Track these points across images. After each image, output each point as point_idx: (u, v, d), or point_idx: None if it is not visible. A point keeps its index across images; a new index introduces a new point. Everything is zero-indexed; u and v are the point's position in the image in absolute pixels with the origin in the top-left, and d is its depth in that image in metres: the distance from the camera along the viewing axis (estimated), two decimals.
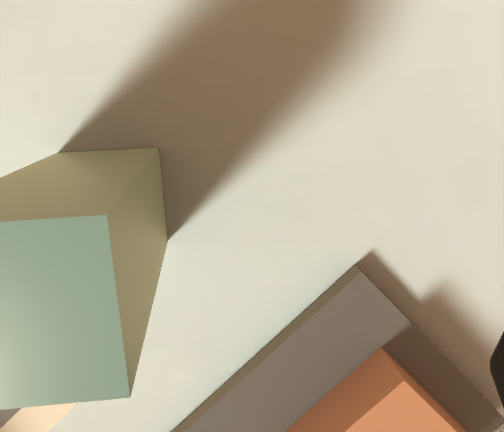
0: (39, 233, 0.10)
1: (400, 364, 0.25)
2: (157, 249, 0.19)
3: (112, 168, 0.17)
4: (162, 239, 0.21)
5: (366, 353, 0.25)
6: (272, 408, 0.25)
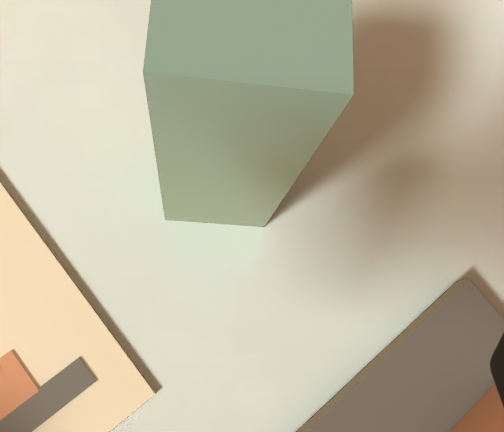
0: None
1: None
2: None
3: None
4: None
5: (484, 384, 0.21)
6: None
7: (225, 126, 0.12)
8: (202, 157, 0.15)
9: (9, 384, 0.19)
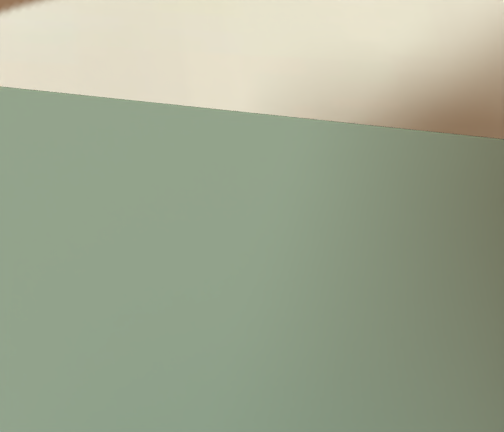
0: None
1: None
2: None
3: None
4: None
5: None
6: None
7: None
8: None
9: None
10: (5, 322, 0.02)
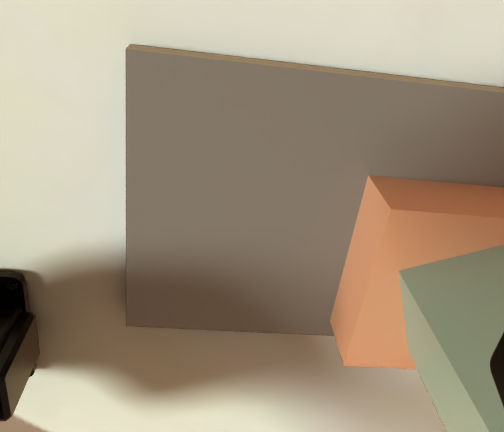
0: None
1: None
2: None
3: None
4: None
5: None
6: (414, 144, 0.20)
7: None
8: None
9: None
10: None
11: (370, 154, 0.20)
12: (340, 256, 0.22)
